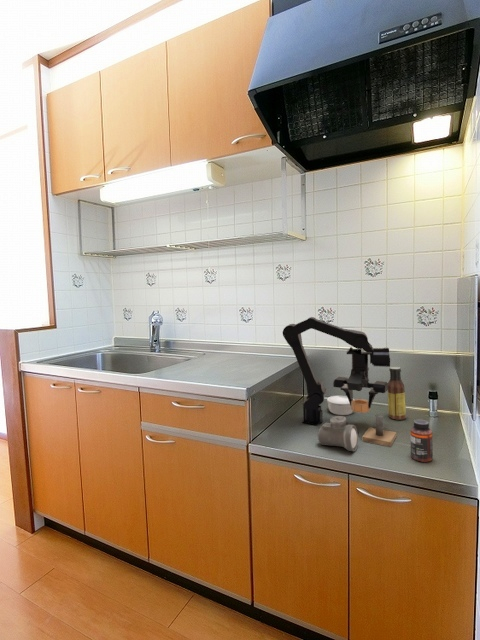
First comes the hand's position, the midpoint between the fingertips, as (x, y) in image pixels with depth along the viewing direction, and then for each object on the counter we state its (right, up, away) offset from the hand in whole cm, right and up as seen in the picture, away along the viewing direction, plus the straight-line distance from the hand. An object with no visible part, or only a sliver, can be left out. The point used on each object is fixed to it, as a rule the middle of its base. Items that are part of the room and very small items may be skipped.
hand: (360, 407), depth 135 cm
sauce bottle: (+16, -6, +7) cm, 19 cm away
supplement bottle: (+10, -9, -26) cm, 29 cm away
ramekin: (-3, -6, +16) cm, 17 cm away
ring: (0, -1, 0) cm, 1 cm away
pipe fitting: (-13, -9, -16) cm, 23 cm away
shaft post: (+3, -8, -12) cm, 14 cm away
